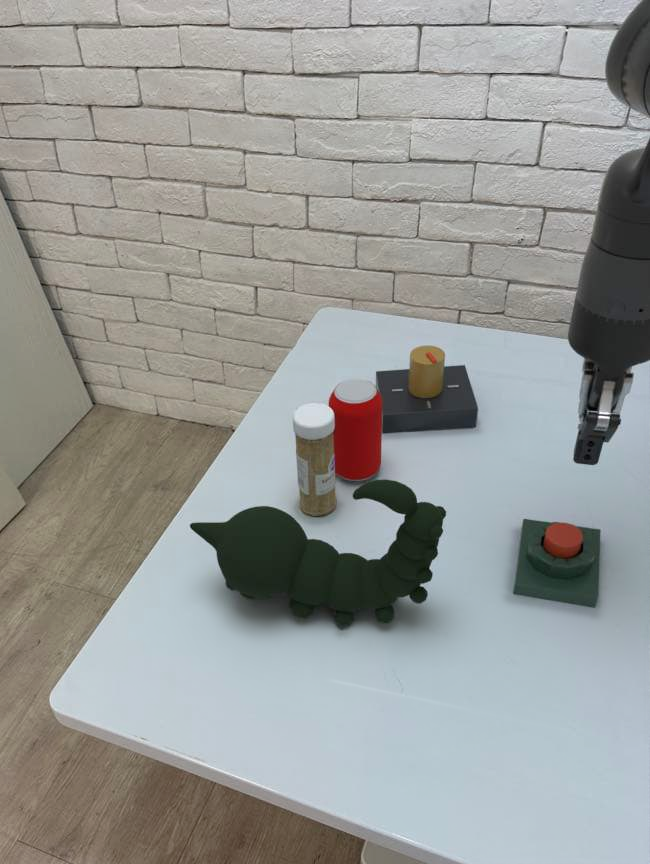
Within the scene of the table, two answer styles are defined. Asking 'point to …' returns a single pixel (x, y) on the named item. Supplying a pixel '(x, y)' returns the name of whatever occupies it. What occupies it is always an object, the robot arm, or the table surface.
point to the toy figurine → (328, 557)
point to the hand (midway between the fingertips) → (585, 459)
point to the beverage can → (357, 429)
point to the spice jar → (315, 458)
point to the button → (563, 540)
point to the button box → (557, 567)
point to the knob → (426, 371)
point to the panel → (426, 402)
